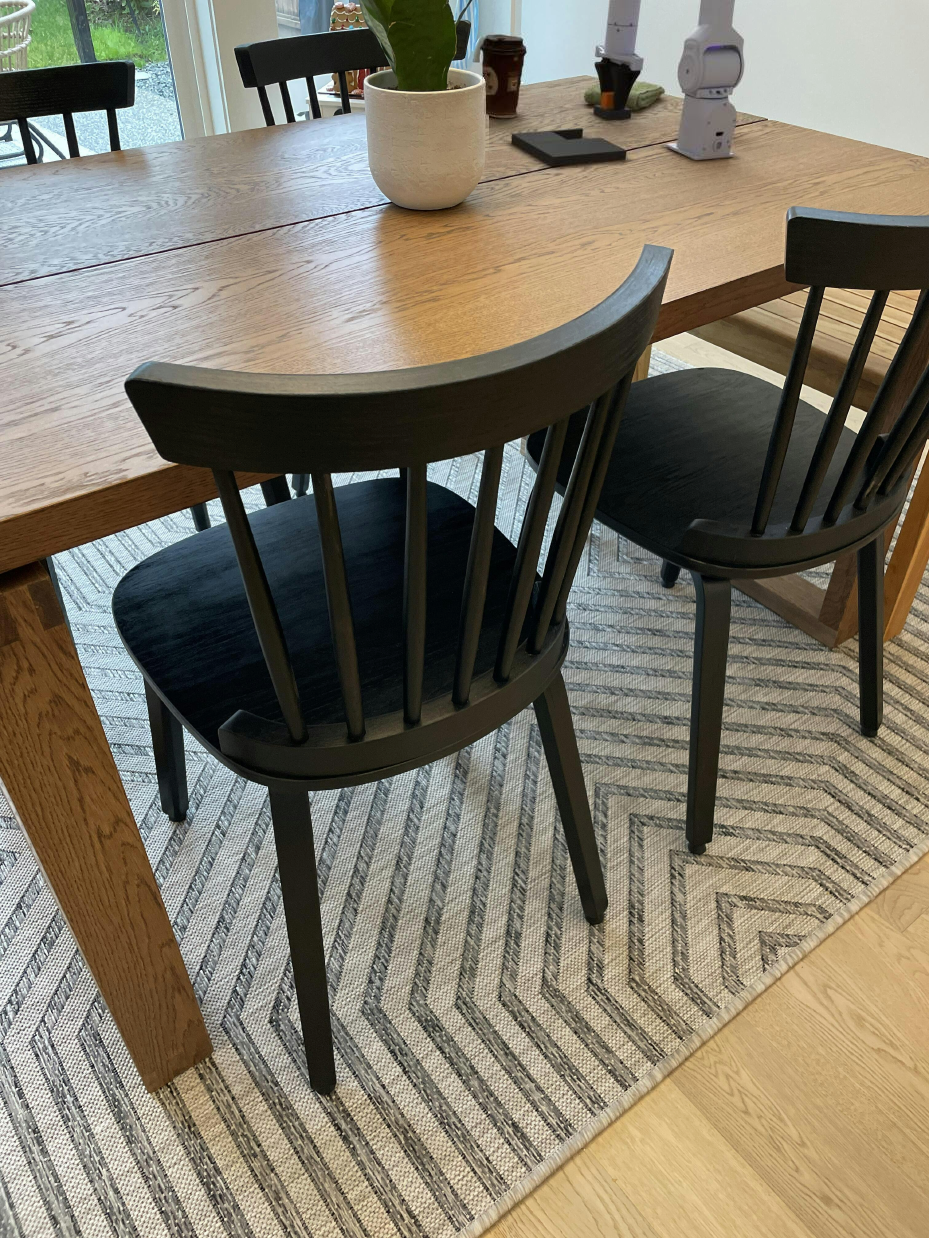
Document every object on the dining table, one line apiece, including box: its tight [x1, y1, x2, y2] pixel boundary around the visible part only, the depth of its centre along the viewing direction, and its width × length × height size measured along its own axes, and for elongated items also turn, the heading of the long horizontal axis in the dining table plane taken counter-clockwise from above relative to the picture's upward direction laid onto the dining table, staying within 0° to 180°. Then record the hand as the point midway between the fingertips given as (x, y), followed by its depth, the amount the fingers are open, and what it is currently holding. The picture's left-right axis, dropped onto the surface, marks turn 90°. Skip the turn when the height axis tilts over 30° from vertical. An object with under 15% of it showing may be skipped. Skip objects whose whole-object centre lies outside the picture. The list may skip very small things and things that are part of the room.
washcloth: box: [583, 80, 666, 111], centre depth 190 cm, size 13×18×3 cm
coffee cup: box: [479, 33, 528, 119], centre depth 175 cm, size 9×8×13 cm
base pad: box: [510, 127, 628, 168], centre depth 159 cm, size 16×14×2 cm
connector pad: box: [593, 92, 633, 121], centre depth 179 cm, size 5×5×4 cm
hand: (613, 106), depth 179 cm, fingers open, 4 cm apart
